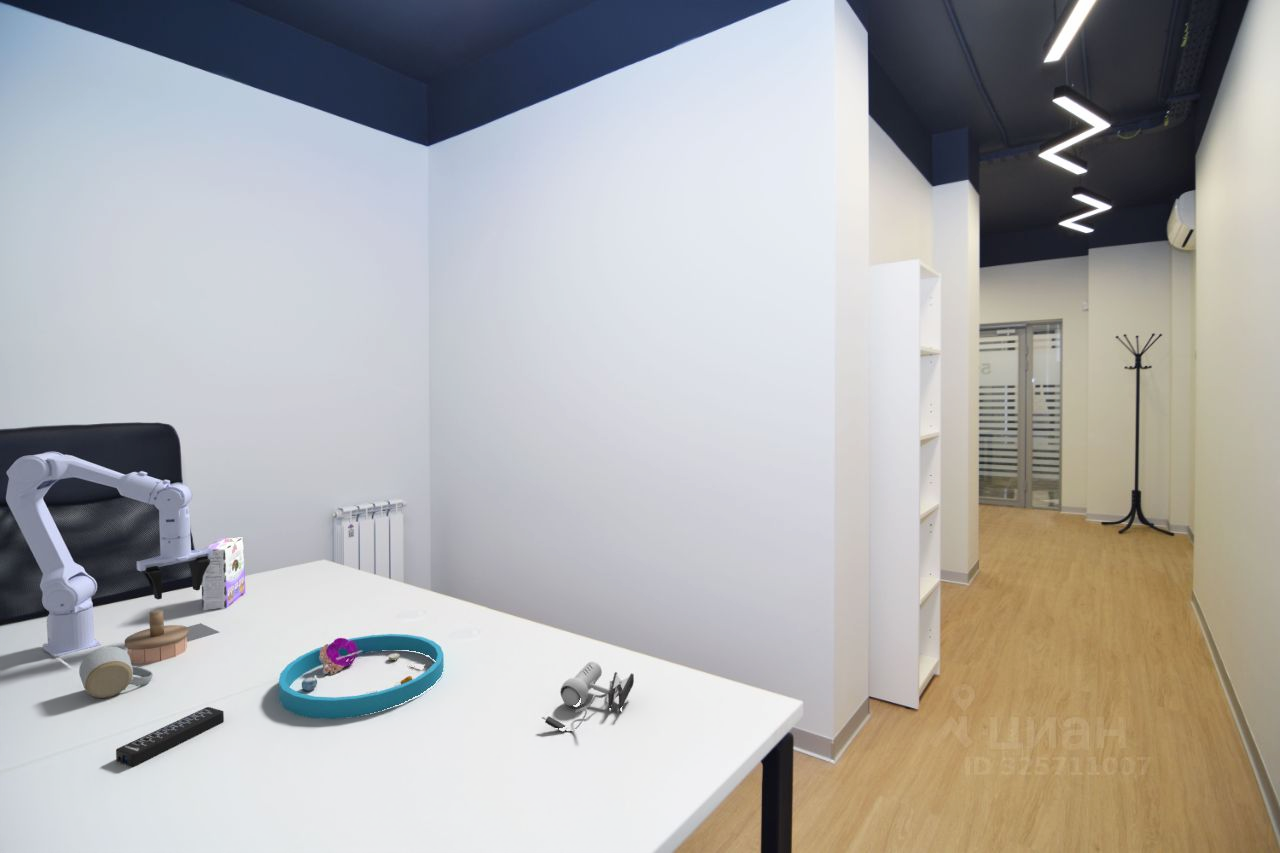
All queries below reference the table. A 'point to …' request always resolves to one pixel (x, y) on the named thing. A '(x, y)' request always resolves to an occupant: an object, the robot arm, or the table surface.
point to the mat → (199, 631)
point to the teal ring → (344, 650)
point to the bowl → (157, 652)
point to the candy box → (224, 574)
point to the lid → (156, 634)
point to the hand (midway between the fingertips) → (177, 593)
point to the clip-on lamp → (586, 681)
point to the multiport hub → (168, 736)
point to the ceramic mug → (110, 672)
